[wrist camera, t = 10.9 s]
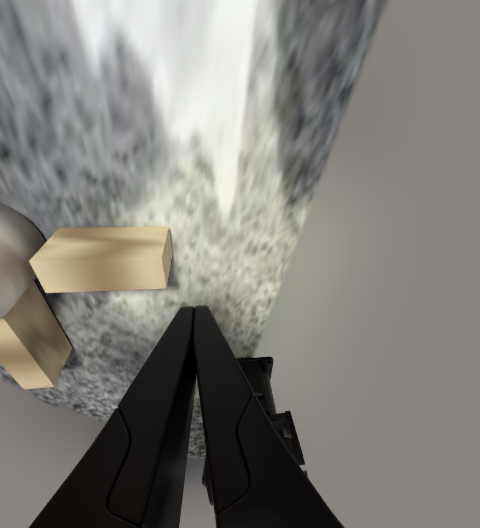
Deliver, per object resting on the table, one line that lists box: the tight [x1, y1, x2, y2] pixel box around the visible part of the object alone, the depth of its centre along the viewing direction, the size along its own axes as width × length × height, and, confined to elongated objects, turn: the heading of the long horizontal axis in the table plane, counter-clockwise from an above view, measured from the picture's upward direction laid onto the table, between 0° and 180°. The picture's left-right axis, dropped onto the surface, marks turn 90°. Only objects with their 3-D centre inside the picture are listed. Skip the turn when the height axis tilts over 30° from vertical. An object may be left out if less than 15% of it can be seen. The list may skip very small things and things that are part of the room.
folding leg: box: [29, 227, 172, 293], centre depth 18 cm, size 8×2×4 cm, turn 87°
